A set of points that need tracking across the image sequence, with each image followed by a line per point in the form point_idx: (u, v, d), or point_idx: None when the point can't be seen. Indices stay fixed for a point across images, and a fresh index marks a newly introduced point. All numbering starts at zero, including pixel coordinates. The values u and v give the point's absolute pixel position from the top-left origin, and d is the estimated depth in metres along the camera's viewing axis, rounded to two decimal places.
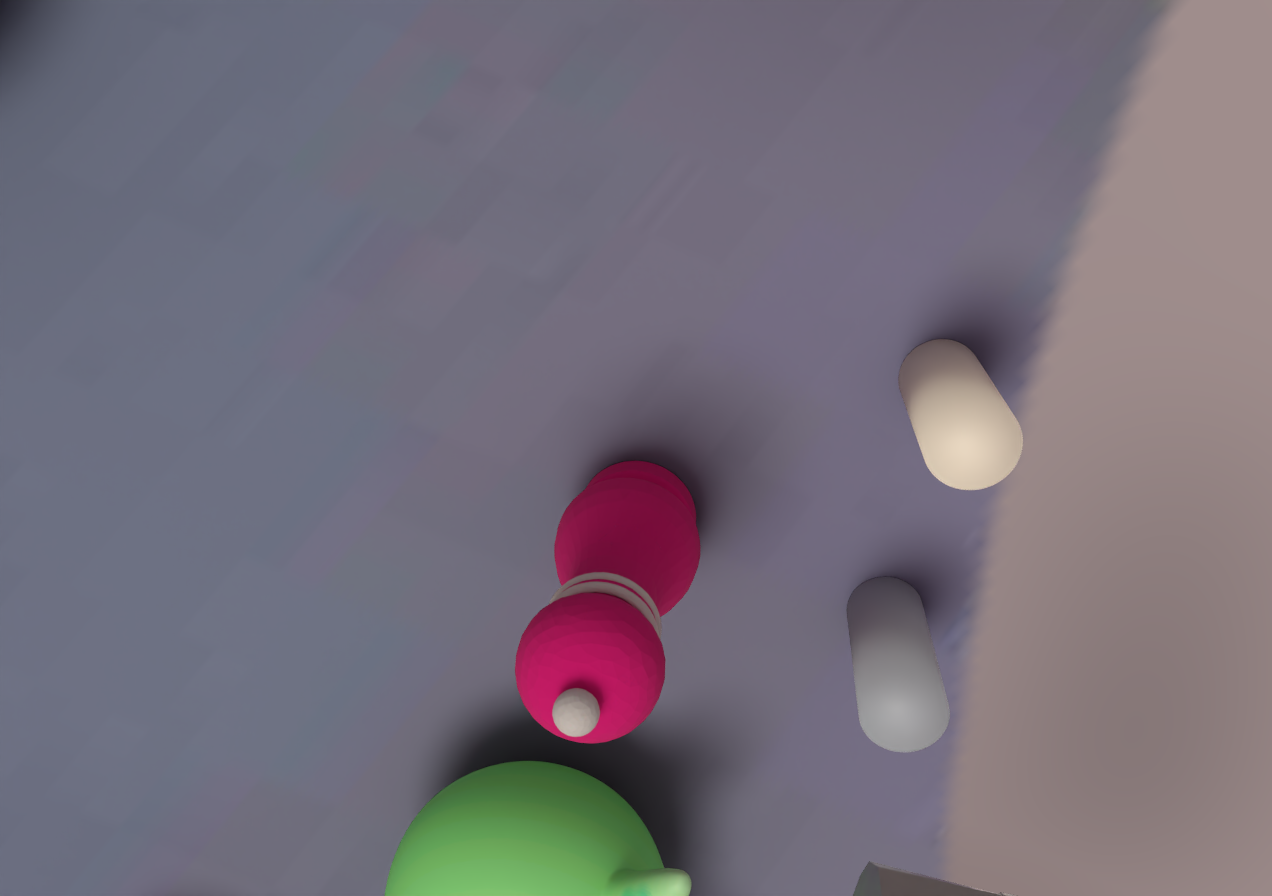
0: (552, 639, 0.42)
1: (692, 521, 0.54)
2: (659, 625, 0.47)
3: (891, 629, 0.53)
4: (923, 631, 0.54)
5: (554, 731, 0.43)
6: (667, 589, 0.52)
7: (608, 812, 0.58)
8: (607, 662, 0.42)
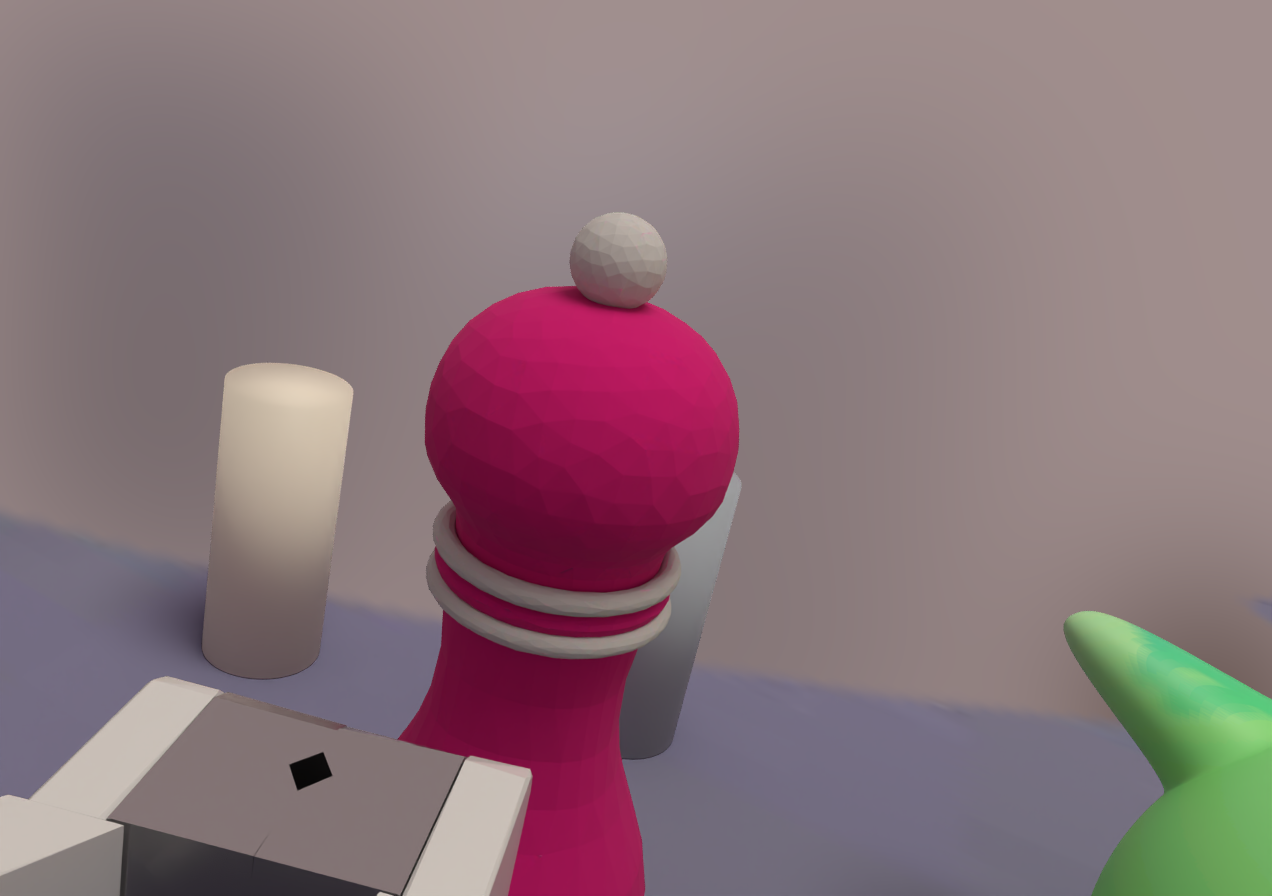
0: (486, 341, 0.19)
1: None
2: None
3: None
4: None
5: (704, 365, 0.20)
6: None
7: (1094, 891, 0.26)
8: None
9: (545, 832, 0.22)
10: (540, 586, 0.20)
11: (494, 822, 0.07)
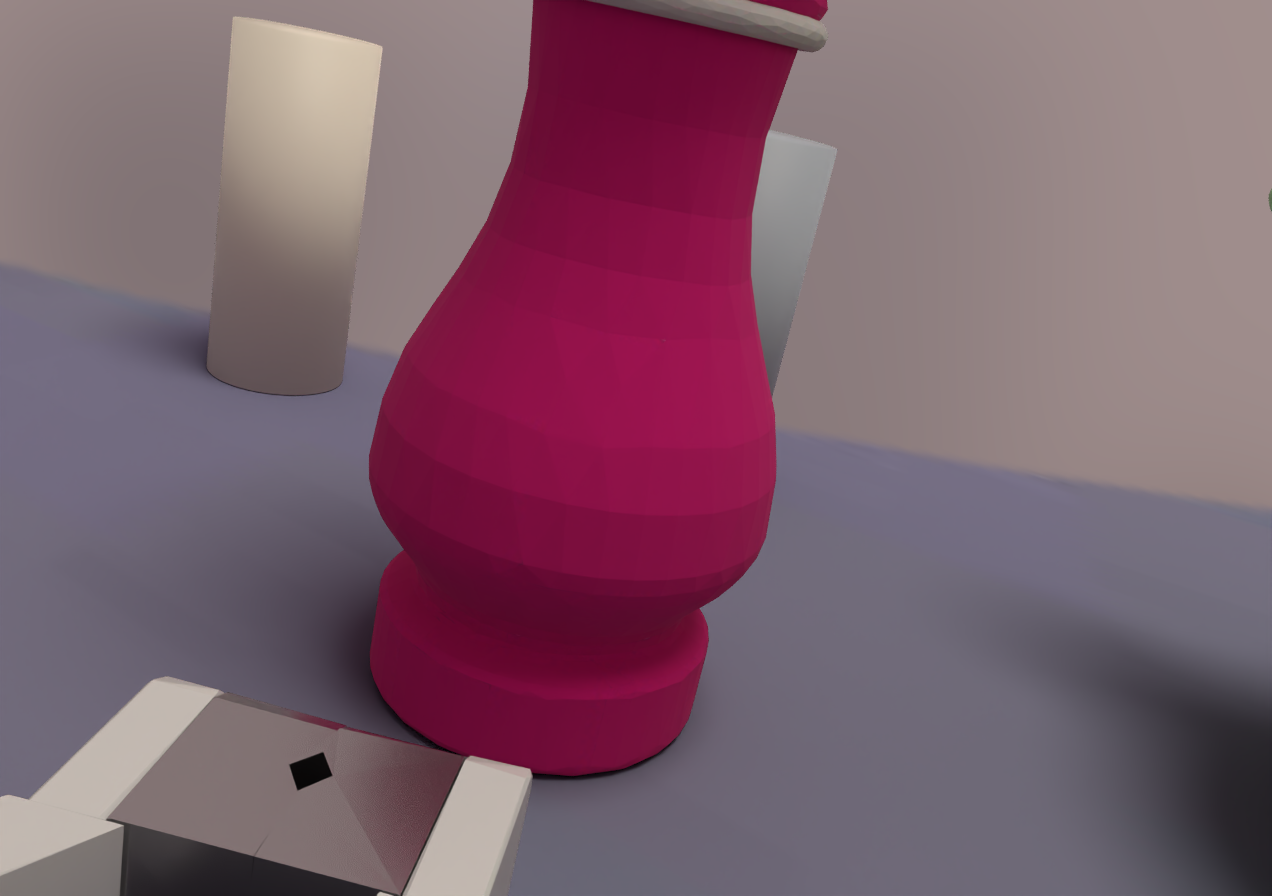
0: None
1: None
2: None
3: None
4: None
5: None
6: None
7: None
8: None
9: (669, 308, 0.17)
10: None
11: (494, 822, 0.07)
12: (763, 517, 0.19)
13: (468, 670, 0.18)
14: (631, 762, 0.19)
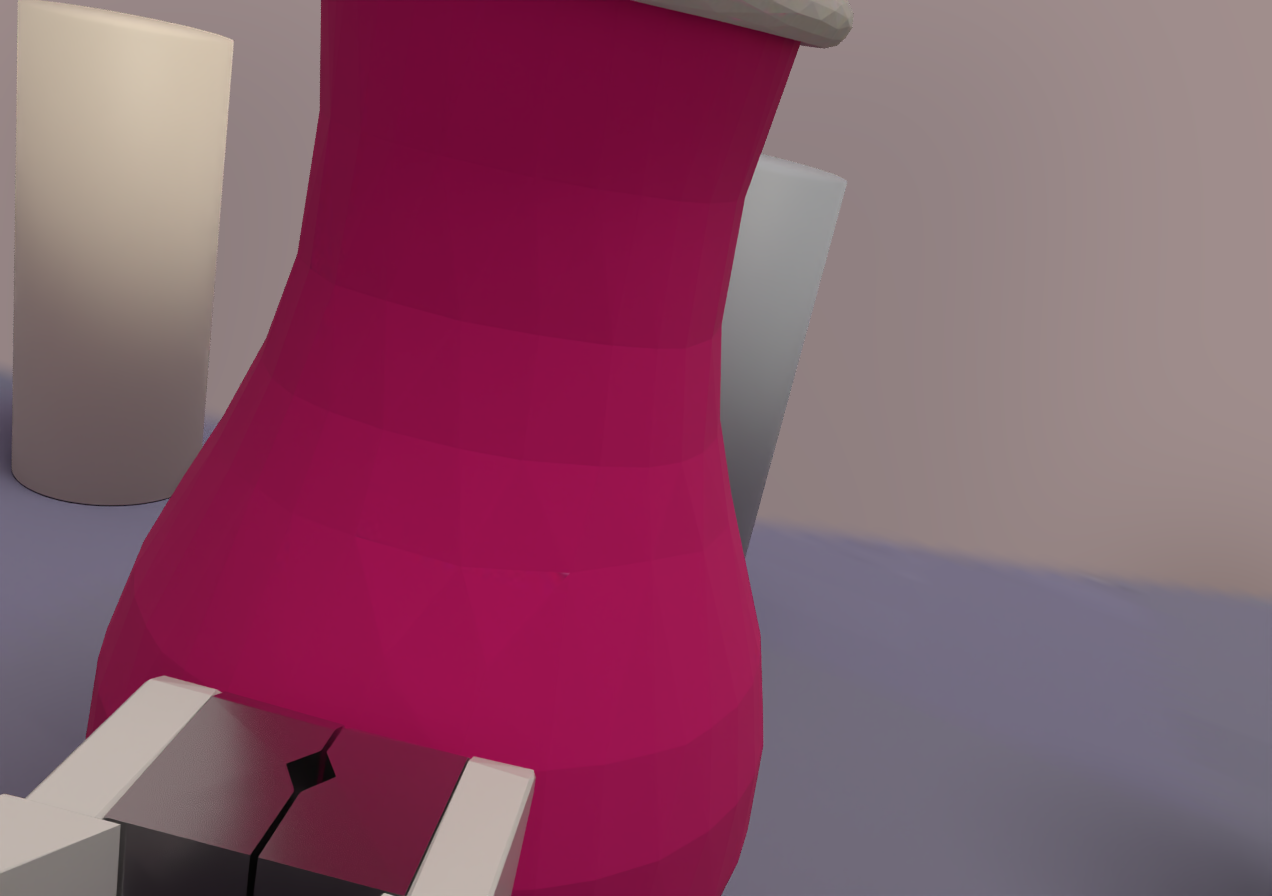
0: None
1: None
2: None
3: None
4: None
5: None
6: None
7: None
8: None
9: (575, 515, 0.09)
10: None
11: (498, 823, 0.07)
12: (744, 817, 0.11)
13: None
14: None
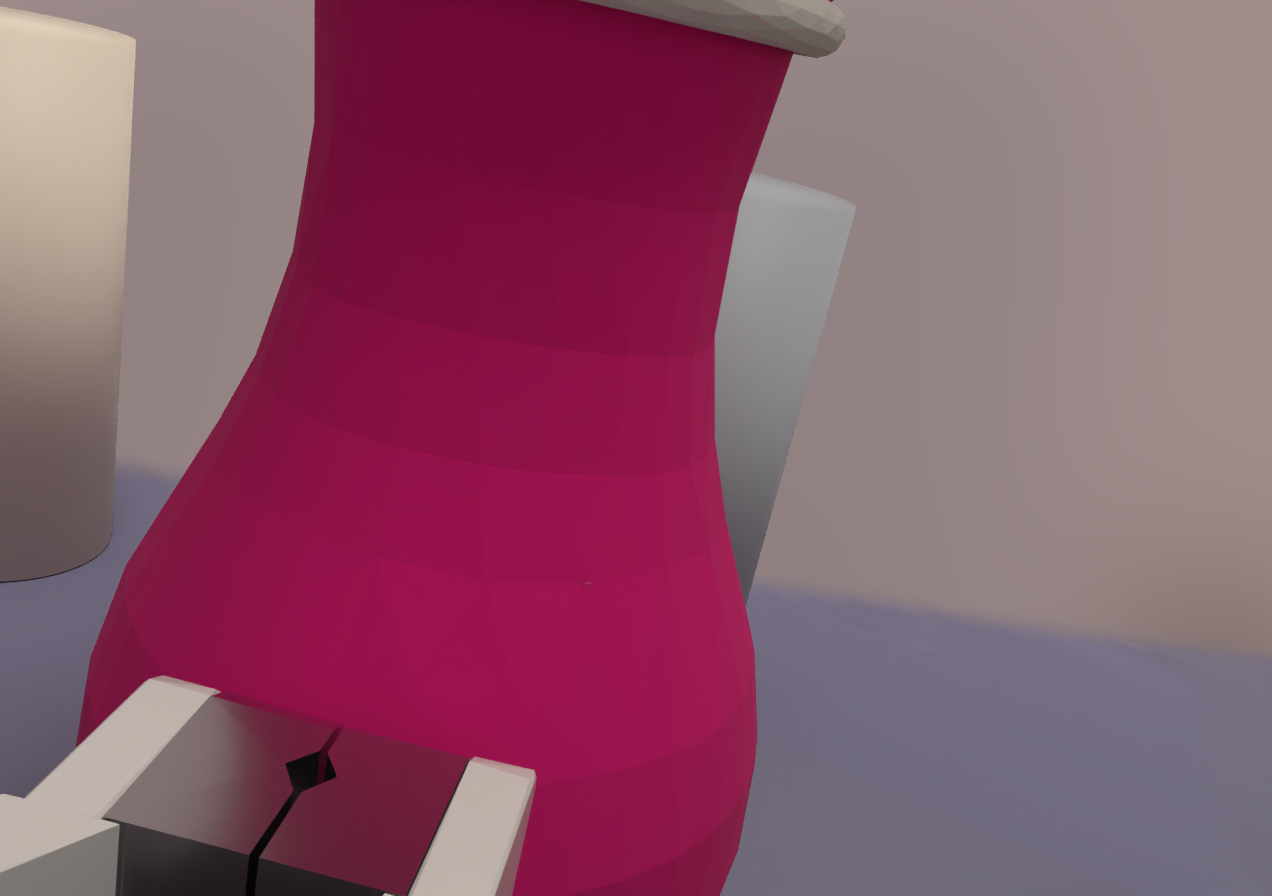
0: None
1: None
2: None
3: None
4: None
5: None
6: None
7: None
8: None
9: (595, 525, 0.09)
10: None
11: (499, 823, 0.07)
12: (745, 807, 0.12)
13: None
14: None
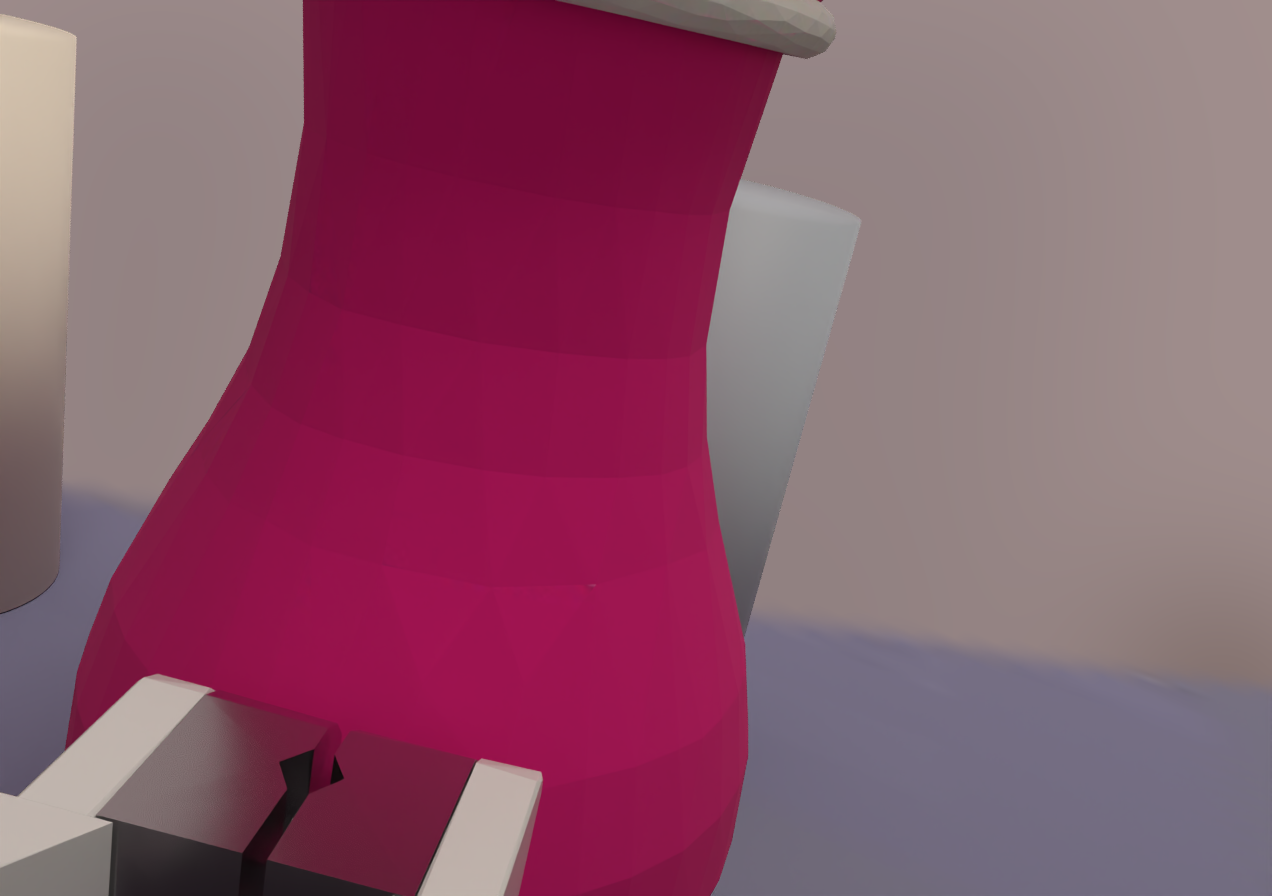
0: None
1: None
2: None
3: None
4: None
5: None
6: None
7: None
8: None
9: (599, 528, 0.09)
10: None
11: (506, 825, 0.07)
12: (739, 797, 0.12)
13: None
14: None
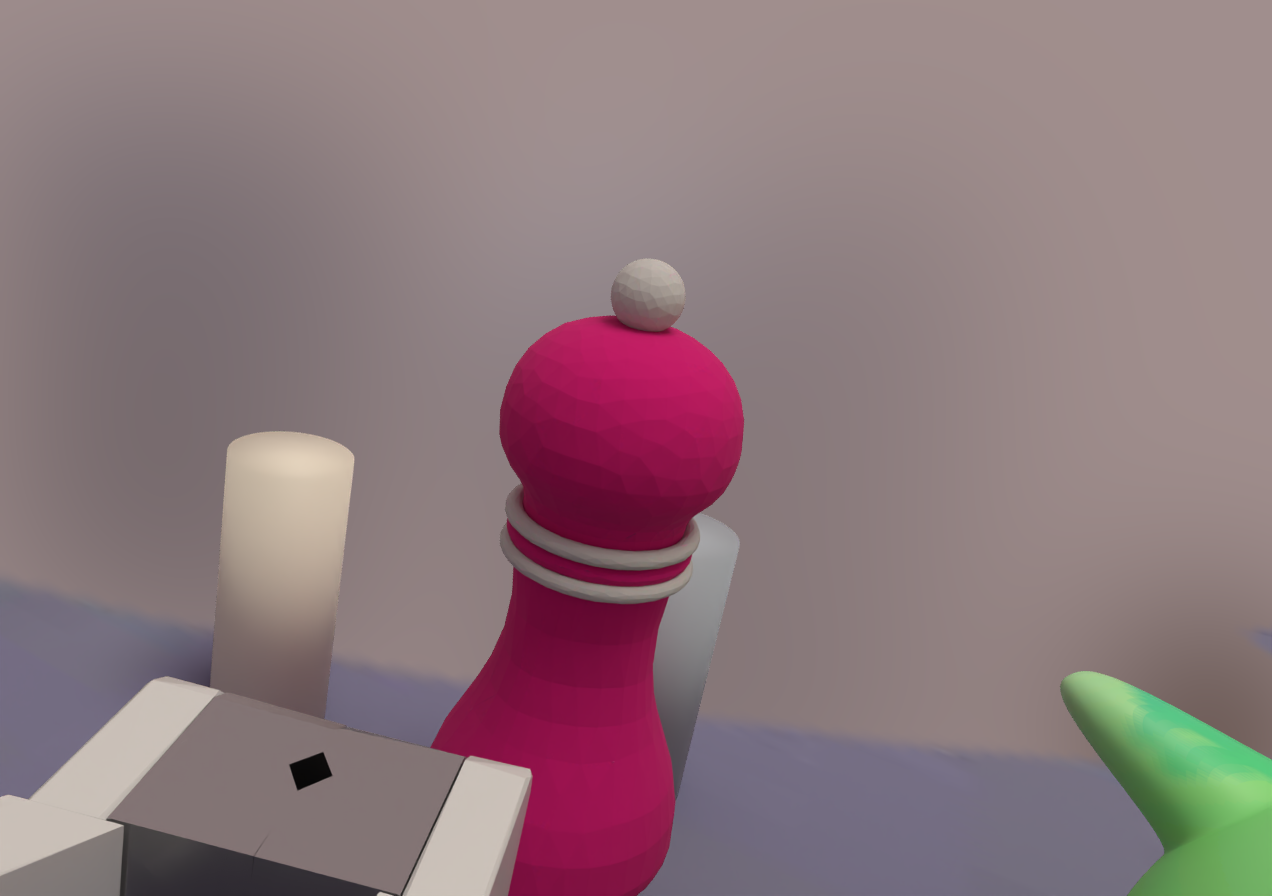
0: (562, 365, 0.25)
1: None
2: None
3: None
4: None
5: (721, 370, 0.26)
6: None
7: None
8: (568, 322, 0.27)
9: (615, 742, 0.28)
10: (612, 550, 0.26)
11: (494, 821, 0.07)
12: (671, 830, 0.31)
13: None
14: None
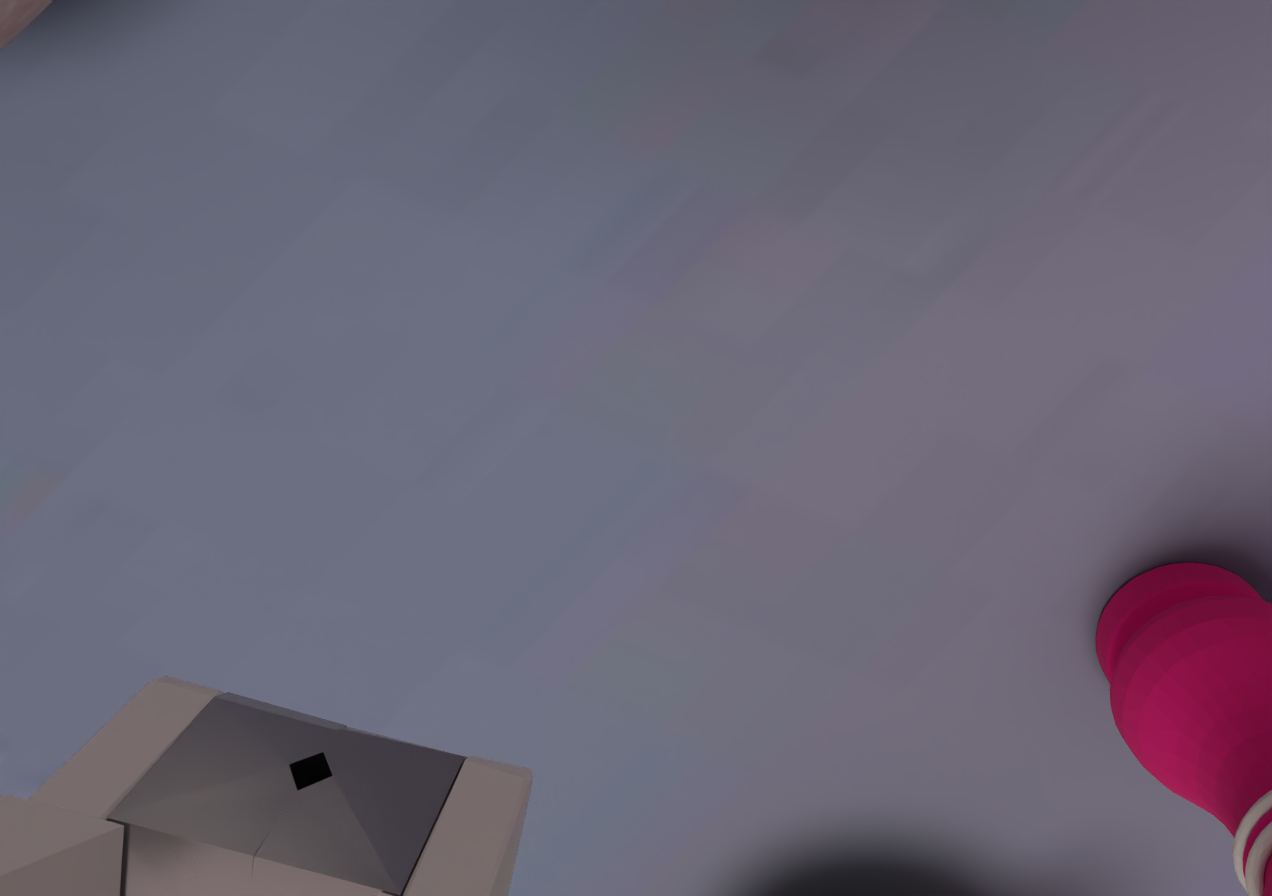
0: None
1: None
2: None
3: None
4: None
5: None
6: None
7: None
8: None
9: (1188, 785, 0.36)
10: (1260, 871, 0.30)
11: (494, 822, 0.07)
12: None
13: (1116, 632, 0.41)
14: None
